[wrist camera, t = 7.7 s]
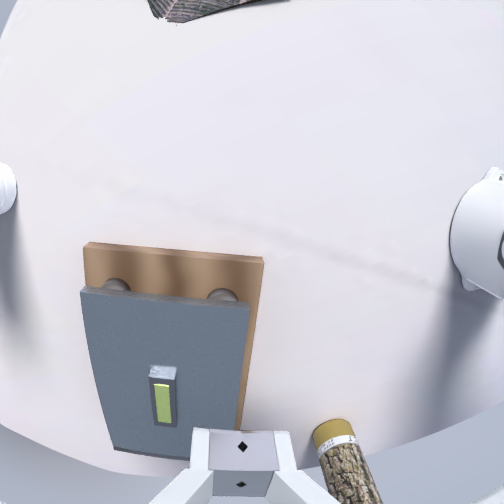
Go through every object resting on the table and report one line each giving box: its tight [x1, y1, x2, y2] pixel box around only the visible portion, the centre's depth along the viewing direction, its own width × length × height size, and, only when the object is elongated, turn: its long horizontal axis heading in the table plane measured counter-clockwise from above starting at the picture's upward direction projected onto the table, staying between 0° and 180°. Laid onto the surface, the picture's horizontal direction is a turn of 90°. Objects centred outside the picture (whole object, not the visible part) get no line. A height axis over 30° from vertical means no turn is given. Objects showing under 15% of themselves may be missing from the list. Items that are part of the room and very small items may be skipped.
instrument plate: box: [80, 286, 250, 461], centre depth 33 cm, size 17×27×3 cm, turn 173°
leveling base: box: [83, 242, 264, 431], centre depth 37 cm, size 20×32×5 cm, turn 173°
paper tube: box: [313, 419, 383, 504], centre depth 34 cm, size 7×7×25 cm
